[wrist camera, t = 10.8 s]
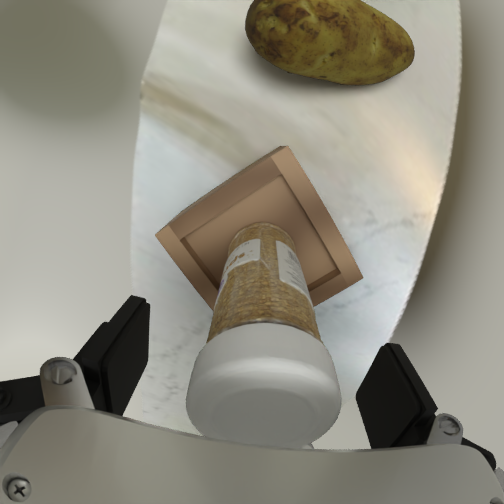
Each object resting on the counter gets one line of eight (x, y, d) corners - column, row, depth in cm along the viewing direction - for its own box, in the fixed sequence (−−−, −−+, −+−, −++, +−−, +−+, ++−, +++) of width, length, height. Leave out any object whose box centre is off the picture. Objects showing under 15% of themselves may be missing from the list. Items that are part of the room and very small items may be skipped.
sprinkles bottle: (225, 223, 19) (165, 364, 7) (295, 219, 19) (355, 355, 6) (231, 287, 21) (199, 458, 8) (297, 283, 21) (335, 453, 8)
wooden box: (339, 244, 26) (363, 277, 19) (245, 299, 28) (241, 344, 21) (280, 146, 23) (288, 146, 17) (181, 211, 25) (154, 234, 19)
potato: (382, 122, 22) (429, 117, 15) (238, 70, 21) (228, 37, 14) (403, 47, 19) (449, 21, 12) (268, -6, 18) (270, -55, 11)
